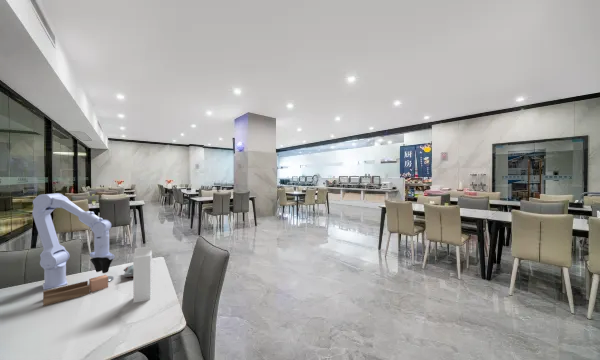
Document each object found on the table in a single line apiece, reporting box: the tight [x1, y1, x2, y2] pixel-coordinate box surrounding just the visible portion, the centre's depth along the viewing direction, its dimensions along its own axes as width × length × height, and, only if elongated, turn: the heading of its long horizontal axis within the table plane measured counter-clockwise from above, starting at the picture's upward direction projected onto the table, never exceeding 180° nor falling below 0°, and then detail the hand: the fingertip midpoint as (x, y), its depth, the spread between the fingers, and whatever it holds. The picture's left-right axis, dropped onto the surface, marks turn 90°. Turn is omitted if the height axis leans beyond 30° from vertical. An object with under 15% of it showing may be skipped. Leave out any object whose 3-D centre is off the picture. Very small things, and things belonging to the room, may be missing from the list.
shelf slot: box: [42, 280, 91, 307], centre depth 103 cm, size 8×14×4 cm, turn 137°
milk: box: [132, 246, 153, 304], centre depth 102 cm, size 6×6×22 cm
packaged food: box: [122, 264, 133, 278], centre depth 126 cm, size 9×12×5 cm
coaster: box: [107, 275, 115, 283], centre depth 119 cm, size 9×9×1 cm
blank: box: [88, 274, 109, 293], centre depth 111 cm, size 4×6×5 cm, turn 142°
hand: (102, 272), depth 119 cm, fingers open, 4 cm apart
